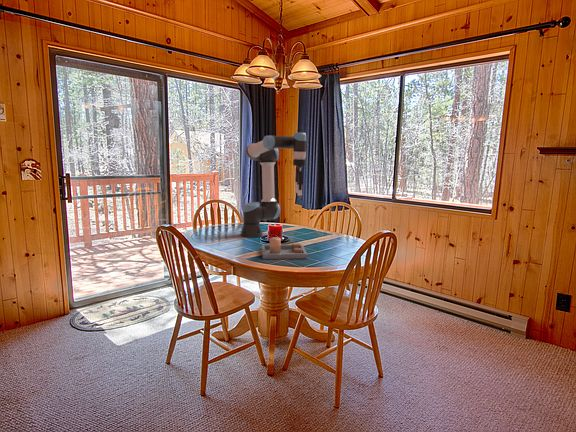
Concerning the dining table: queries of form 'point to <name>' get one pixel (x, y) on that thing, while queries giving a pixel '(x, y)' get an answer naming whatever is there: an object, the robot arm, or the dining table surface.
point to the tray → (283, 252)
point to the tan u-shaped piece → (275, 245)
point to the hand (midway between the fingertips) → (298, 194)
